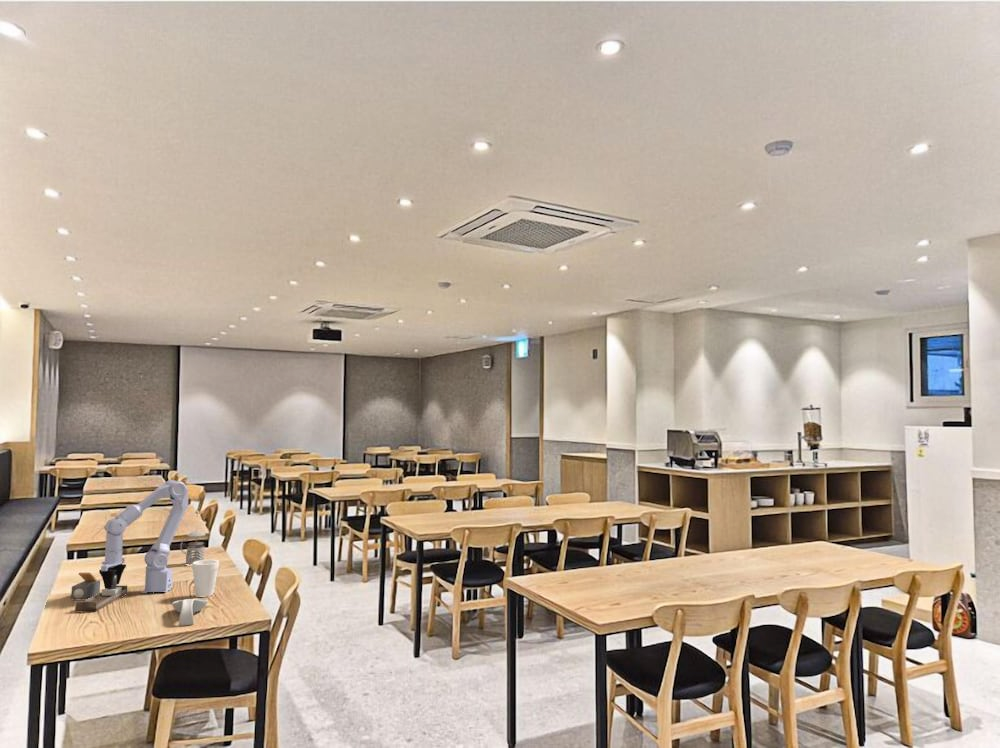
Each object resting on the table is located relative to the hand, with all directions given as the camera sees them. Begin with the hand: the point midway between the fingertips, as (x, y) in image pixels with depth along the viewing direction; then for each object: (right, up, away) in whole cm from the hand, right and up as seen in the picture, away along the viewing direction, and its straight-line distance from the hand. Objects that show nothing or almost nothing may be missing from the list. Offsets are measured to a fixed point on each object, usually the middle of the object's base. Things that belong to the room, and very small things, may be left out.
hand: (112, 586), depth 260 cm
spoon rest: (+40, -4, -22) cm, 46 cm away
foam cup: (+34, -5, +5) cm, 34 cm away
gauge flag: (-11, +3, +2) cm, 11 cm away
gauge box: (-11, -4, +1) cm, 12 cm away
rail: (+1, -4, -7) cm, 8 cm away
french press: (+4, -9, +60) cm, 61 cm away
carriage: (0, -3, 0) cm, 3 cm away
